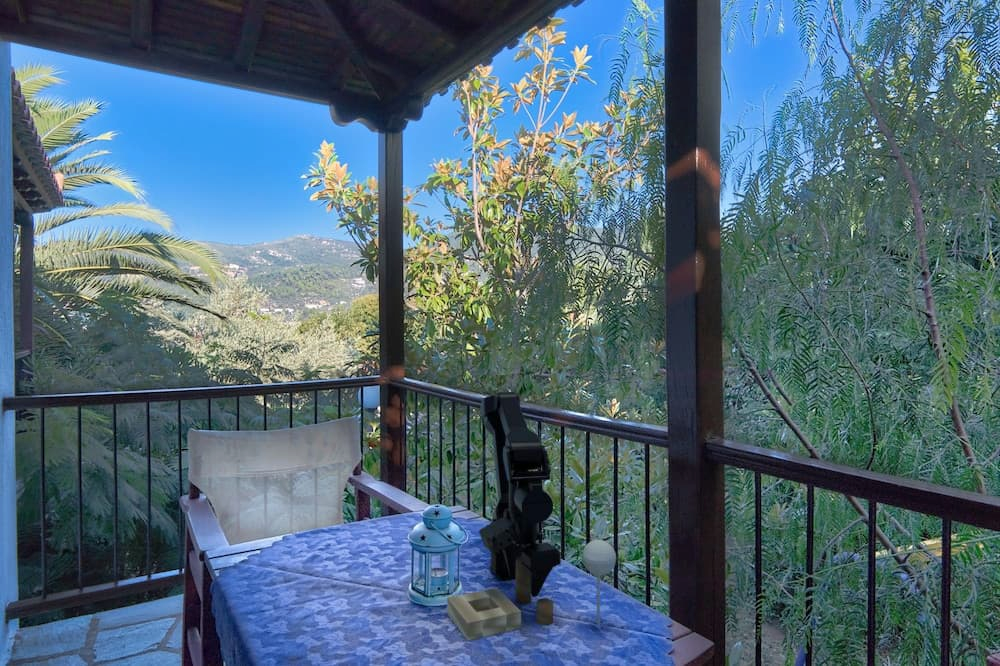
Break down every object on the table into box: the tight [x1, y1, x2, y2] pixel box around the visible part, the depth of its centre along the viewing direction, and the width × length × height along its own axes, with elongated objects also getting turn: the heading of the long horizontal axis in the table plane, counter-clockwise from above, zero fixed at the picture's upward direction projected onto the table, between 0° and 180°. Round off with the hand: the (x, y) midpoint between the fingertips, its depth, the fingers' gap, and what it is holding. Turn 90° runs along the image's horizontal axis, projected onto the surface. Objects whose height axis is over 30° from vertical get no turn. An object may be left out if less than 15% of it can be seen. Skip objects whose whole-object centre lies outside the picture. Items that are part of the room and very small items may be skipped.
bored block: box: [446, 587, 522, 642], centre depth 109 cm, size 10×10×3 cm
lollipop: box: [581, 539, 617, 626], centre depth 108 cm, size 6×6×15 cm
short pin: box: [535, 597, 554, 626], centre depth 109 cm, size 3×3×4 cm
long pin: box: [514, 556, 532, 606], centre depth 117 cm, size 3×3×8 cm
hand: (523, 586), depth 117 cm, fingers open, 9 cm apart
